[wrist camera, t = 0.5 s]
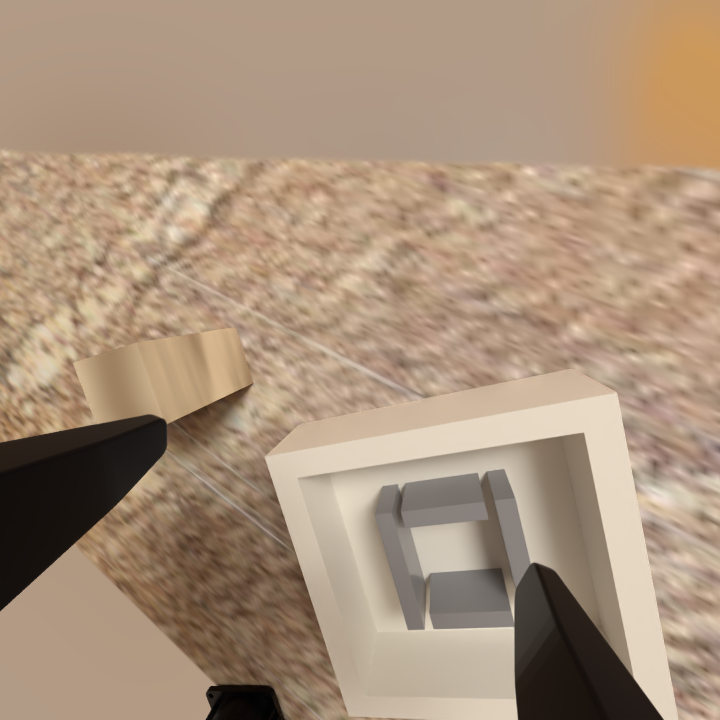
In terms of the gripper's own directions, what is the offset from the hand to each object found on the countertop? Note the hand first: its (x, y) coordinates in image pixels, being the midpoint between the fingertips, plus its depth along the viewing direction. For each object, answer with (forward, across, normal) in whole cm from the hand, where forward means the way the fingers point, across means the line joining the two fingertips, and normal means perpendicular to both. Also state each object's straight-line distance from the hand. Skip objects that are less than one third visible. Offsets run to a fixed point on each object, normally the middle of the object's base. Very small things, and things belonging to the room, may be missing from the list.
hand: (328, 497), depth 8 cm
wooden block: (+13, +12, +5) cm, 19 cm away
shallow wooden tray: (+13, -6, +11) cm, 18 cm away
